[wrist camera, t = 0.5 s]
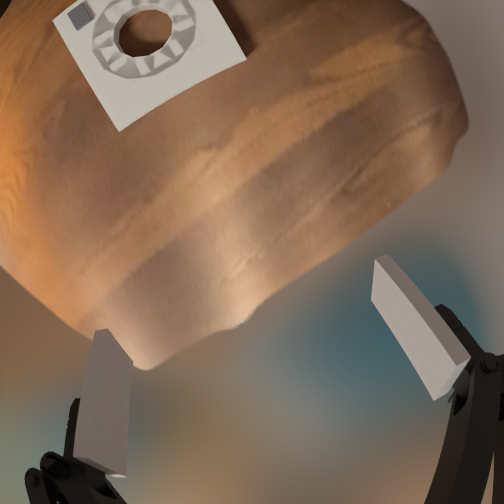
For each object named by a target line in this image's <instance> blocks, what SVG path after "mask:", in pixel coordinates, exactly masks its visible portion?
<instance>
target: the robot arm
mask: <svg viewBox="0 0 504 504" xmlns="http://www.w3.org/2000/svg"><path fill="white" fill-rule="evenodd" d="M10 1H11V0H0V17H1V16H2V14H3V13H4V11H5V9H6V8H7V6H8V4H9V3H10ZM371 301H372V302H373V303H374V305H375V306H376V308H377V309H378V311H379V312H380V314H381V315H382V317H383V319H384V320H385V321H386V323H387V325H388V326H389V328H390V329H391V331H392V332H393V334H394V335H395V337H396V339H397V340H398V342H399V343H400V345H401V346H402V348H403V350H404V351H405V353H406V354H407V356H408V358H409V359H410V361H411V363H412V364H413V366H414V367H415V369H416V371H417V372H418V374H419V376H420V378H421V379H422V381H423V382H424V384H425V386H426V388H427V389H428V391H429V393H430V395H431V396H432V398H433V400H436V399H438V398H439V397H441V396H443V395H444V394H446V393H448V391H449V389H450V388H451V387H452V386H453V388H454V390H455V391H454V392H453V394H452V395H451V396H450V398H449V400H448V403H450V402H451V400H452V399H453V401H452V406H451V412H450V417H449V422H448V426H447V431H446V435H445V439H444V444H443V447H442V451H441V455H440V458H439V462H438V465H437V468H436V472H435V475H434V478H433V481H432V484H431V486H430V489H429V492H428V495H427V498H426V500H425V503H424V504H481V501H482V498H483V495H484V491H485V488H486V484H487V480H488V476H489V471H490V467H491V463H492V458H493V453H494V481H493V496H492V504H504V354H503V355H499V356H495V355H494V354H492V353H485V352H484V351H483V350H482V349H481V348H480V346H479V345H478V344H477V342H476V341H475V340H474V338H473V337H472V336H471V335H470V333H469V332H468V331H467V329H466V328H465V327H463V324H462V323H461V322H460V320H458V318H457V317H456V316H455V314H454V313H453V312H452V311H451V310H450V309H448V308H447V307H445V306H444V305H442V304H440V305H438V306H436V307H433V306H432V305H431V304H430V302H429V301H428V300H427V299H426V298H425V296H424V295H423V294H422V293H421V292H420V290H419V289H418V288H417V287H416V286H415V284H414V283H413V282H412V281H411V280H410V279H409V277H408V276H407V275H406V274H405V273H404V272H403V271H402V269H401V268H400V267H399V266H398V265H397V264H396V263H395V262H394V260H393V259H392V258H391V257H390V256H389V255H385V256H382V257H379V258H376V259H375V265H374V277H373V287H372V296H371ZM132 367H133V361H132V360H131V358H130V357H129V356H128V355H127V353H126V352H125V351H124V350H123V348H122V347H121V346H120V344H119V343H118V342H117V340H116V339H115V338H114V336H113V335H112V334H111V332H110V331H109V330H108V329H103V330H98V331H95V334H94V338H93V342H92V346H91V350H90V355H89V359H88V364H87V369H86V373H85V378H84V383H83V388H82V394H81V398H75V400H74V401H73V403H72V405H71V407H70V412H69V420H68V424H67V426H68V428H67V432H66V438H65V448H64V455H63V457H62V456H60V455H58V454H57V453H55V452H47V453H45V454H44V455H43V457H42V458H41V461H40V469H41V471H40V470H38V469H36V468H30V469H29V470H27V472H26V474H25V486H26V489H27V493H28V497H29V501H30V504H57V502H58V504H127V503H126V502H125V501H124V500H123V498H122V497H121V496H120V495H119V493H118V492H117V491H116V490H115V489H114V487H113V486H112V485H111V483H110V482H109V481H108V480H107V479H106V478H105V473H106V474H108V475H110V476H113V477H127V443H128V442H127V440H128V418H129V401H130V388H131V377H132Z"/></svg>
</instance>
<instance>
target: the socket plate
mask: <svg viewBox="0 0 504 504" xmlns="http://www.w3.org/2000/svg"><path fill="white" fill-rule="evenodd" d="M153 9H156V10H159V11H161V12H163V13H166V14H168V15H169V17H170V19H171V20H172V22H173V23H172V35H171V36H170V37H169V39H168V40H167V42H166V43H165V45H164V46H163V47H162V48H161V49H159V50H157V51H155V52H154V53H152V54H150V55H149V56H140V57H131V56H129V55H126V54H125V53H124V51H123V50H122V48H121V46H120V45H119V34H120V29H121V28H122V26H123V25H124V23H125V22H126V21H127V19H128V18H130V17H131V16H133V15H135V14H136V13H138V12H140V11H143V10H153ZM53 22H54V24H55V26H56V27H57V29H58V31H59V33H60V35H61V36H62V38H63V40H64V42H65V44H66V45H67V47H68V49H69V51H70V52H71V54H72V56H73V58H74V59H75V61H76V63H77V64H78V66H79V68H80V69H81V71H82V73H83V74H84V76H85V78H86V80H87V81H88V83H89V84H90V86H91V88H92V89H93V91H94V93H95V94H96V96H97V98H98V99H99V101H100V102H101V104H102V106H103V107H104V109H105V110H106V112H107V114H108V115H109V117H110V118H111V120H112V122H113V123H114V125H115V126H116V128H117V129H118V131H119V132H120V131H121V130H123V129H124V128H126V127H127V126H129V125H130V124H132V123H133V122H134V121H136V120H137V119H139V118H140V117H142V116H144V115H145V114H147V113H148V112H150V111H151V110H153V109H154V108H156V107H158V106H159V105H161V104H163V103H164V102H166V101H168V100H169V99H171V98H173V97H174V96H176V95H178V94H180V93H181V92H183V91H185V90H187V89H188V88H190V87H192V86H194V85H196V84H198V83H199V82H201V81H203V80H205V79H207V78H209V77H211V76H213V75H215V74H217V73H219V72H221V71H223V70H225V69H227V68H230V67H232V66H234V65H236V64H238V63H240V62H243V61H245V60H246V57H245V55H244V54H243V52H242V50H241V48H240V46H239V45H238V43H237V41H236V39H235V37H234V36H233V34H232V32H231V31H230V29H229V27H228V25H227V24H226V22H225V20H224V19H223V17H222V15H221V14H220V12H219V10H218V9H217V7H216V6H215V4H214V2H213V1H212V0H78V1H77V2H75V3H74V4H73V5H71V6H70V7H69V8H67V9H66V10H65V11H63V12H62V13H61V14H60V15H59V16H57V17H56V18H55V19H54V20H53Z"/></svg>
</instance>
